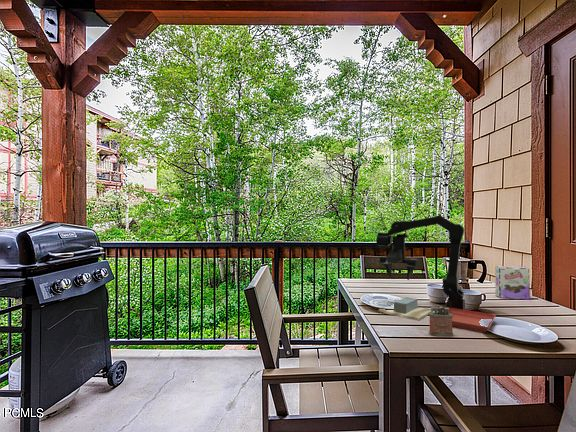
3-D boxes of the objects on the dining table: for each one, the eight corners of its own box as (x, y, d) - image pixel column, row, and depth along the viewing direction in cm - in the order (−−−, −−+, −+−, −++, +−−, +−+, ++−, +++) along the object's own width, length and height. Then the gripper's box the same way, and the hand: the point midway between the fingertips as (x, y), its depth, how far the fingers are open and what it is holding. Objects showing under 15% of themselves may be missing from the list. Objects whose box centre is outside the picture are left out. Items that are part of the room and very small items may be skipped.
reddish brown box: (450, 333, 112) (450, 305, 112) (454, 336, 109) (454, 308, 109) (427, 332, 113) (427, 305, 113) (431, 336, 109) (430, 308, 109)
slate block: (417, 299, 141) (404, 304, 132) (417, 307, 141) (404, 313, 132) (406, 297, 145) (393, 302, 136) (407, 305, 145) (393, 311, 136)
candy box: (499, 298, 161) (498, 267, 161) (495, 295, 167) (494, 265, 167) (530, 300, 157) (529, 268, 157) (525, 297, 163) (524, 266, 163)
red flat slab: (489, 336, 110) (489, 326, 110) (435, 325, 122) (435, 316, 122) (496, 323, 124) (496, 314, 124) (447, 314, 135) (447, 307, 135)
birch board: (432, 312, 137) (432, 310, 138) (418, 320, 126) (418, 318, 126) (394, 304, 150) (394, 302, 150) (378, 311, 139) (378, 309, 139)
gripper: (373, 246, 151) (373, 278, 151) (409, 248, 138) (410, 283, 137) (384, 245, 159) (384, 275, 159) (420, 247, 145) (420, 280, 145)
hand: (399, 278), depth 150 cm, fingers open, 9 cm apart
